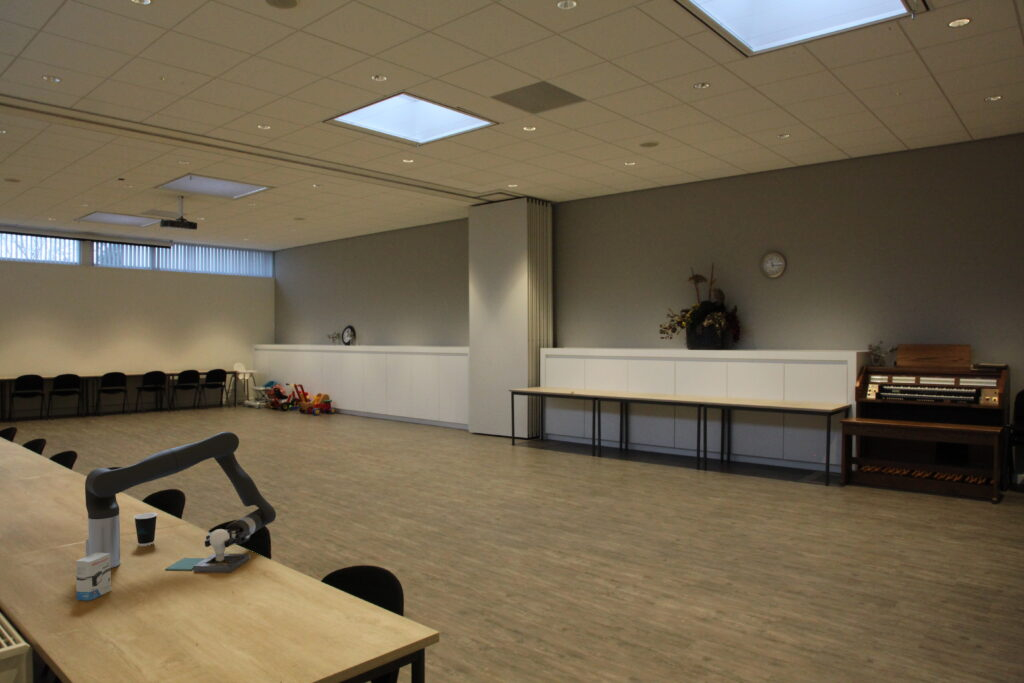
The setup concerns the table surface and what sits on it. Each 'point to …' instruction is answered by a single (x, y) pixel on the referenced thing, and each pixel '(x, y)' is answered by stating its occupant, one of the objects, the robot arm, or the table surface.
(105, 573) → the ink box
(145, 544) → the dixie cup
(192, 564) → the mat
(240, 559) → the holder
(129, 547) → the table surface
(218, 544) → the lightbulb
